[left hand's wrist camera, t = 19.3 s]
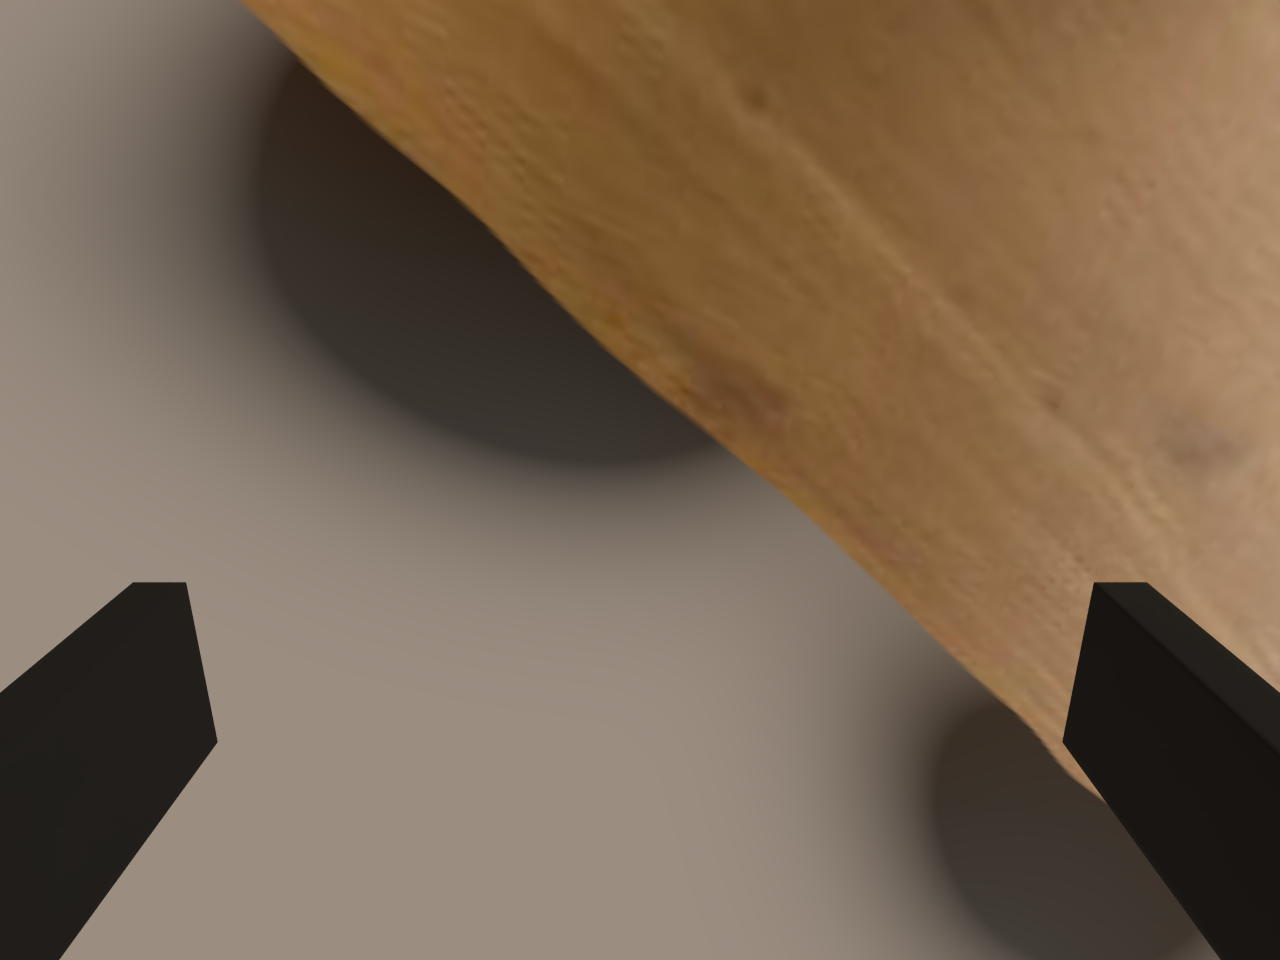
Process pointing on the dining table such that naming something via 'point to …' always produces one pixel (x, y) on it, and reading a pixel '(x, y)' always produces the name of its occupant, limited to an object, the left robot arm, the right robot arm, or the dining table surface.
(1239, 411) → the dining table surface
